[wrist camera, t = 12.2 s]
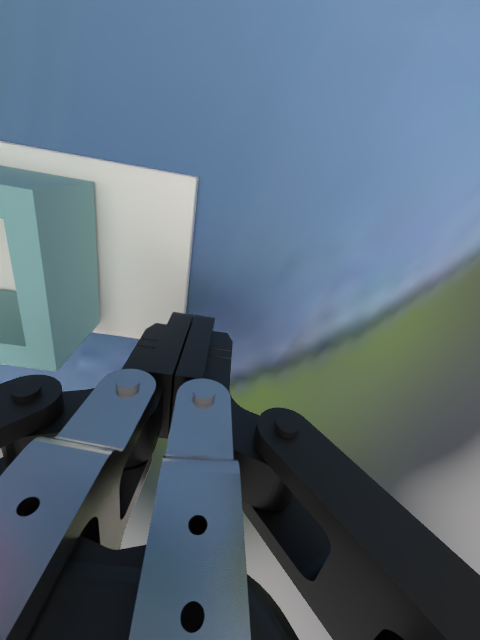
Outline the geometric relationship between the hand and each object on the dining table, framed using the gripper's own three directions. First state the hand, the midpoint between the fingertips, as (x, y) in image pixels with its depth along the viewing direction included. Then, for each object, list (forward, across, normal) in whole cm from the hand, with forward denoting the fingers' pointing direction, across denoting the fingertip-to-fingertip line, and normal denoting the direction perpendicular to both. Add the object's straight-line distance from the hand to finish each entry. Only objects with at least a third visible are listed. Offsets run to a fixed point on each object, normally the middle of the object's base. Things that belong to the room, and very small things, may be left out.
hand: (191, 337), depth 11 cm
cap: (+7, +9, 0) cm, 12 cm away
